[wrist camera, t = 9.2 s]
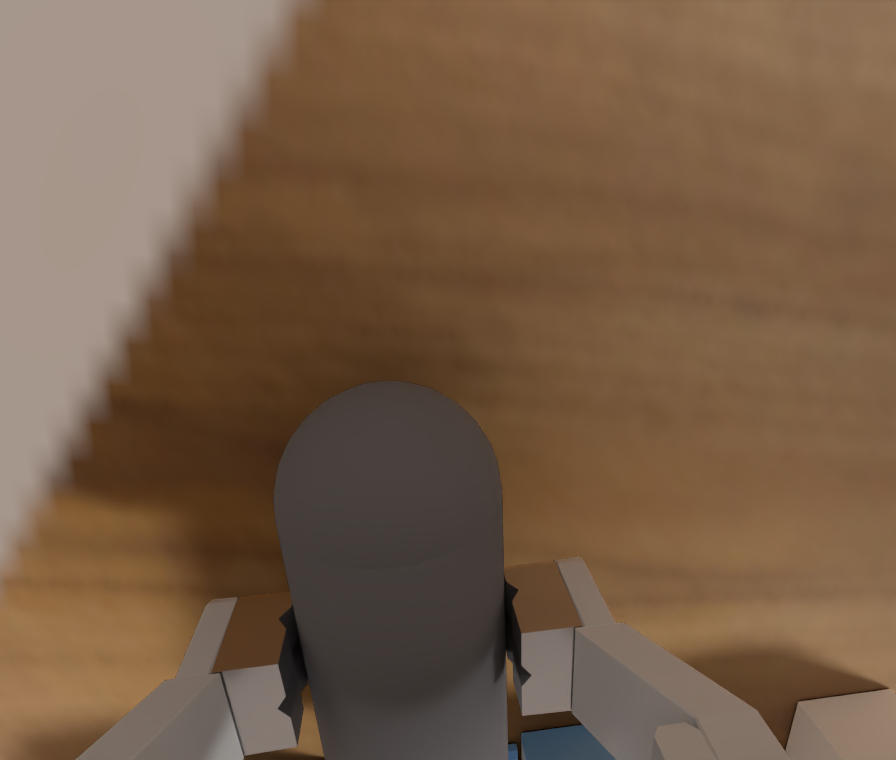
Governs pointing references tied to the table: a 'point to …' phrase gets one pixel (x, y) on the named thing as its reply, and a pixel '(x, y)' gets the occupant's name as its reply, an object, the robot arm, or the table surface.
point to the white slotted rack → (809, 745)
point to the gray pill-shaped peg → (397, 574)
